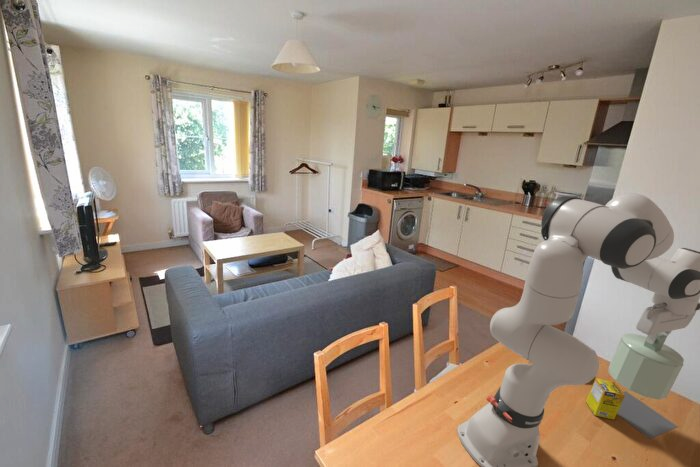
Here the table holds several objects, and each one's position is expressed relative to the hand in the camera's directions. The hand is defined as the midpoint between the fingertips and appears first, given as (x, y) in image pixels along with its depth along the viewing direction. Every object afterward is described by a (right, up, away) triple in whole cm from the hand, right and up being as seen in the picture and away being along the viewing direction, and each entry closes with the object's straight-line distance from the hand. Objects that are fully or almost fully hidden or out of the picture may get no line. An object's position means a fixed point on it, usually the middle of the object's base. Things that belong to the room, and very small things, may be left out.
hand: (654, 341), depth 97 cm
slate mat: (+3, -28, +9) cm, 29 cm away
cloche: (-2, -14, +5) cm, 15 cm away
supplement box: (-10, -27, +9) cm, 30 cm away
